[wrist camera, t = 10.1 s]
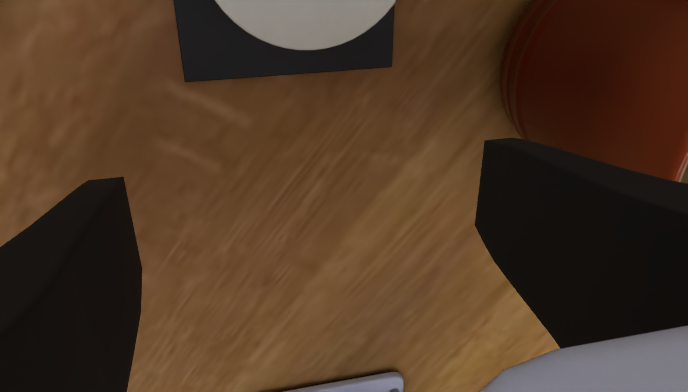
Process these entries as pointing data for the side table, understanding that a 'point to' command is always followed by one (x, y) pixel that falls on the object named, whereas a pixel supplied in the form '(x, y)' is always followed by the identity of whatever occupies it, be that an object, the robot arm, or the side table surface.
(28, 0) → the side table surface
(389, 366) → the side table surface
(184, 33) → the mat
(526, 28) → the mug
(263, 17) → the saucers
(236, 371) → the side table surface
